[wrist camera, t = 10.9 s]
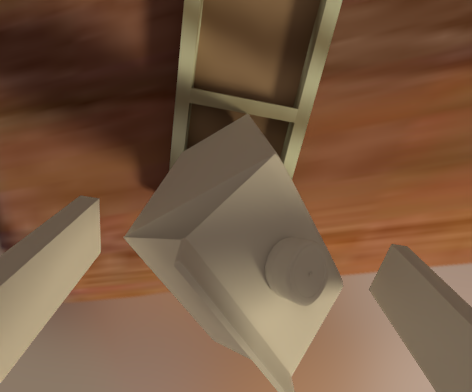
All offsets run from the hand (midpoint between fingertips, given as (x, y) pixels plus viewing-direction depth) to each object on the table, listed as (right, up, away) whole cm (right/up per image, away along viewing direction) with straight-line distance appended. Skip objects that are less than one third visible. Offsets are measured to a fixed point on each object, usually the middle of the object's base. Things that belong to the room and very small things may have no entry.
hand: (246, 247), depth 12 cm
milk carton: (-1, +5, +13) cm, 15 cm away
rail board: (0, +12, +14) cm, 18 cm away
